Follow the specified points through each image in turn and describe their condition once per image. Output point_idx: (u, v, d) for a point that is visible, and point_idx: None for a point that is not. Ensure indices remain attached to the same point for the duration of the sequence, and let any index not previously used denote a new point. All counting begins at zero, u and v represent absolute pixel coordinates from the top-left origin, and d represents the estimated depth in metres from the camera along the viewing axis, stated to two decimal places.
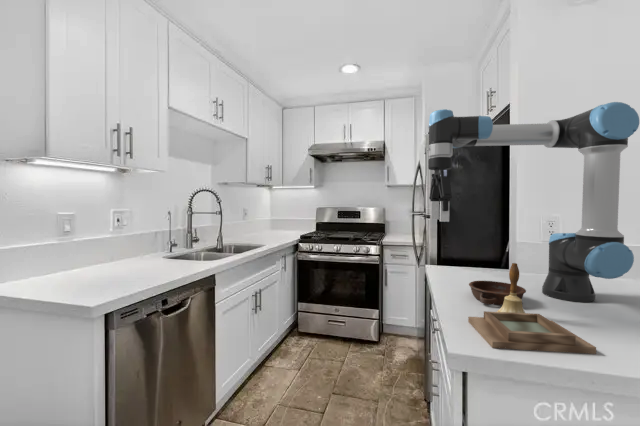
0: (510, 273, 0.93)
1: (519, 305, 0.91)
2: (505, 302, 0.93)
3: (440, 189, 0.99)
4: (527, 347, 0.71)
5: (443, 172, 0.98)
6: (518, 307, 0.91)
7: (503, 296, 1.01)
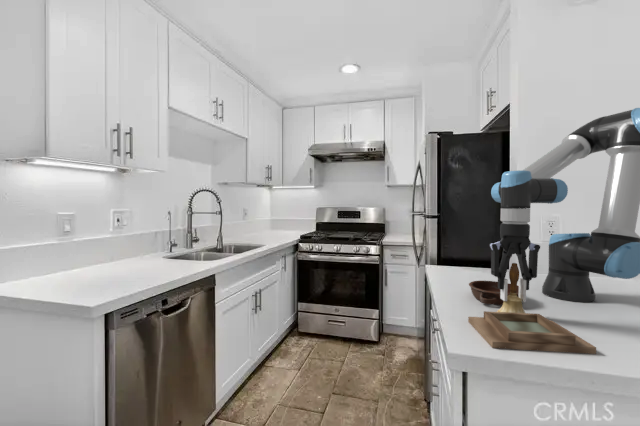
0: (510, 273, 0.93)
1: (519, 305, 0.91)
2: (505, 302, 0.93)
3: (500, 263, 0.94)
4: (527, 347, 0.71)
5: (490, 246, 0.94)
6: (518, 307, 0.91)
7: None
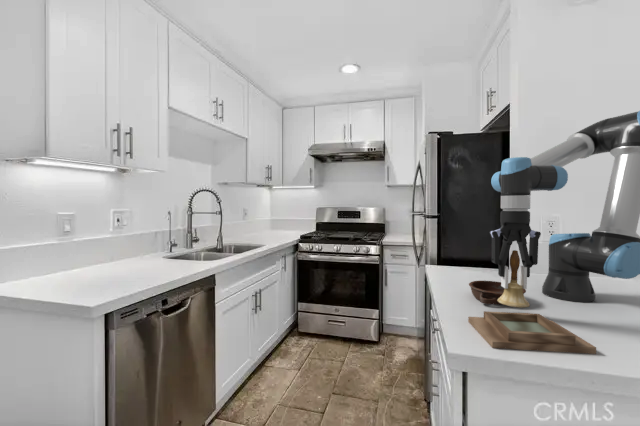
0: (511, 260, 0.92)
1: (520, 292, 0.91)
2: (506, 289, 0.93)
3: None
4: (527, 347, 0.71)
5: (490, 234, 0.94)
6: (519, 294, 0.91)
7: None
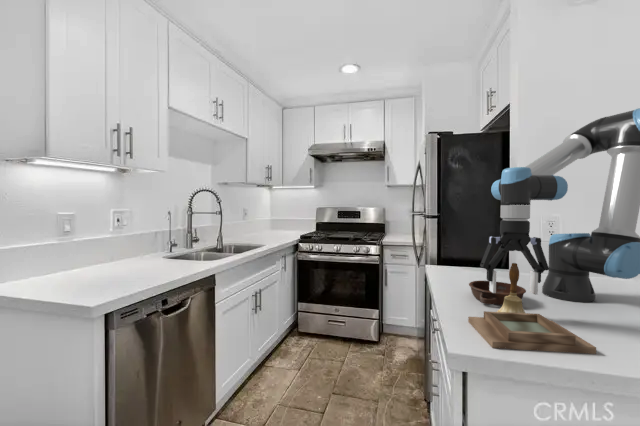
0: (510, 273, 0.93)
1: (519, 305, 0.91)
2: (505, 302, 0.93)
3: None
4: (527, 347, 0.71)
5: (489, 239, 0.94)
6: (518, 307, 0.91)
7: (503, 296, 1.01)
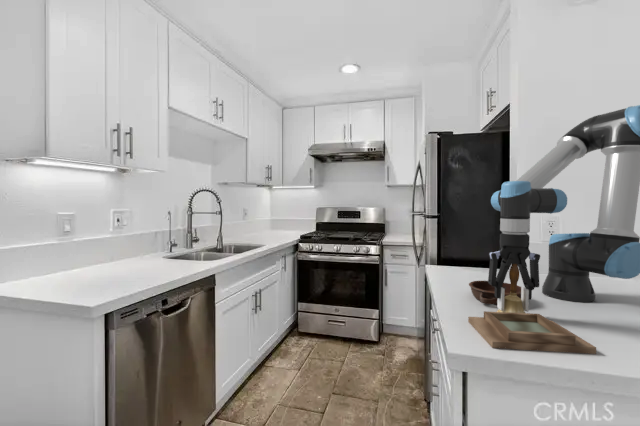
0: (510, 273, 0.93)
1: (519, 305, 0.91)
2: (505, 302, 0.93)
3: (498, 272, 0.94)
4: (527, 347, 0.71)
5: (489, 255, 0.94)
6: (518, 307, 0.91)
7: None
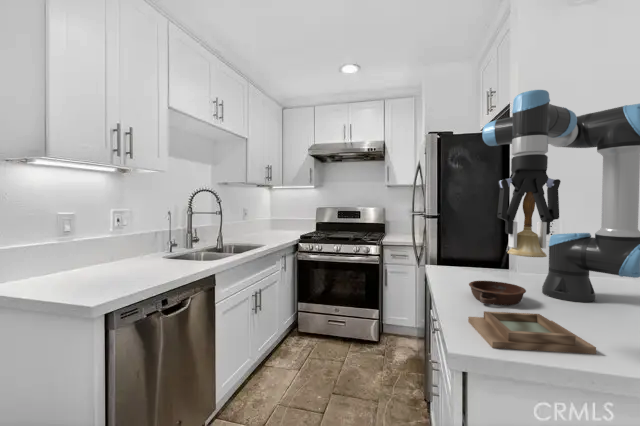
0: (524, 203, 0.78)
1: (535, 240, 0.76)
2: (518, 238, 0.78)
3: None
4: (527, 347, 0.71)
5: (499, 184, 0.79)
6: (534, 242, 0.76)
7: (503, 296, 1.01)
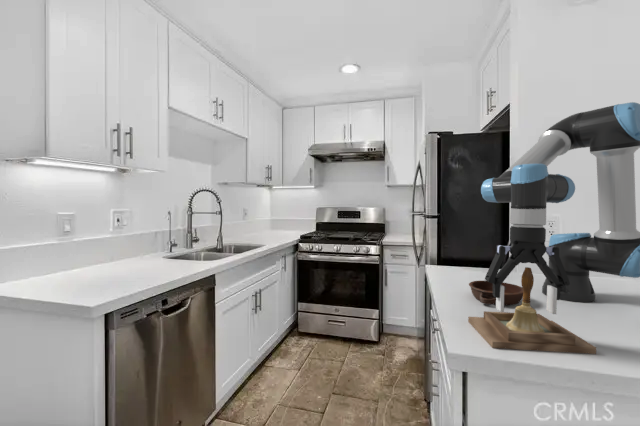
0: (523, 279, 0.78)
1: (533, 317, 0.77)
2: (516, 313, 0.79)
3: (501, 269, 0.80)
4: (527, 347, 0.71)
5: (497, 248, 0.80)
6: (533, 319, 0.76)
7: None
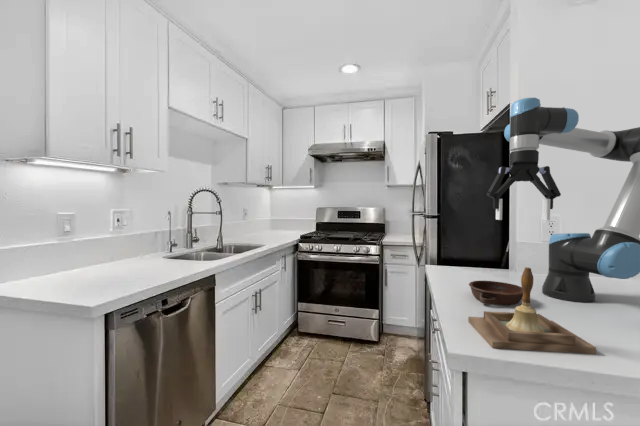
0: (523, 279, 0.78)
1: (533, 317, 0.77)
2: (516, 314, 0.79)
3: (500, 187, 0.97)
4: (527, 347, 0.71)
5: (499, 169, 0.97)
6: (533, 320, 0.76)
7: (503, 296, 1.01)
